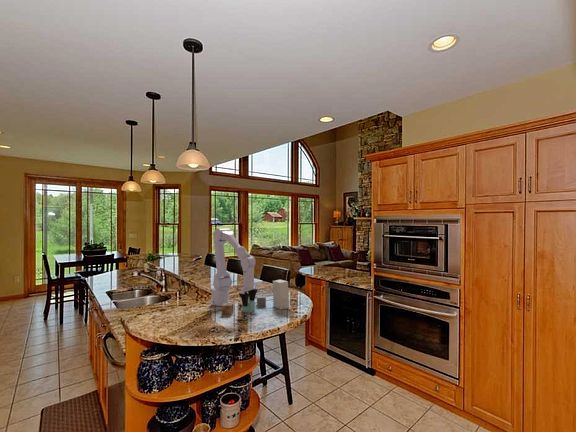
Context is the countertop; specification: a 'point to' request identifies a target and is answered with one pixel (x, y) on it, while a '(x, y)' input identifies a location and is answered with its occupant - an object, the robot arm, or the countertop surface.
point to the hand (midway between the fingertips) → (248, 304)
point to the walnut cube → (227, 308)
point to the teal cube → (249, 307)
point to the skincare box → (280, 294)
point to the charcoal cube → (261, 301)
